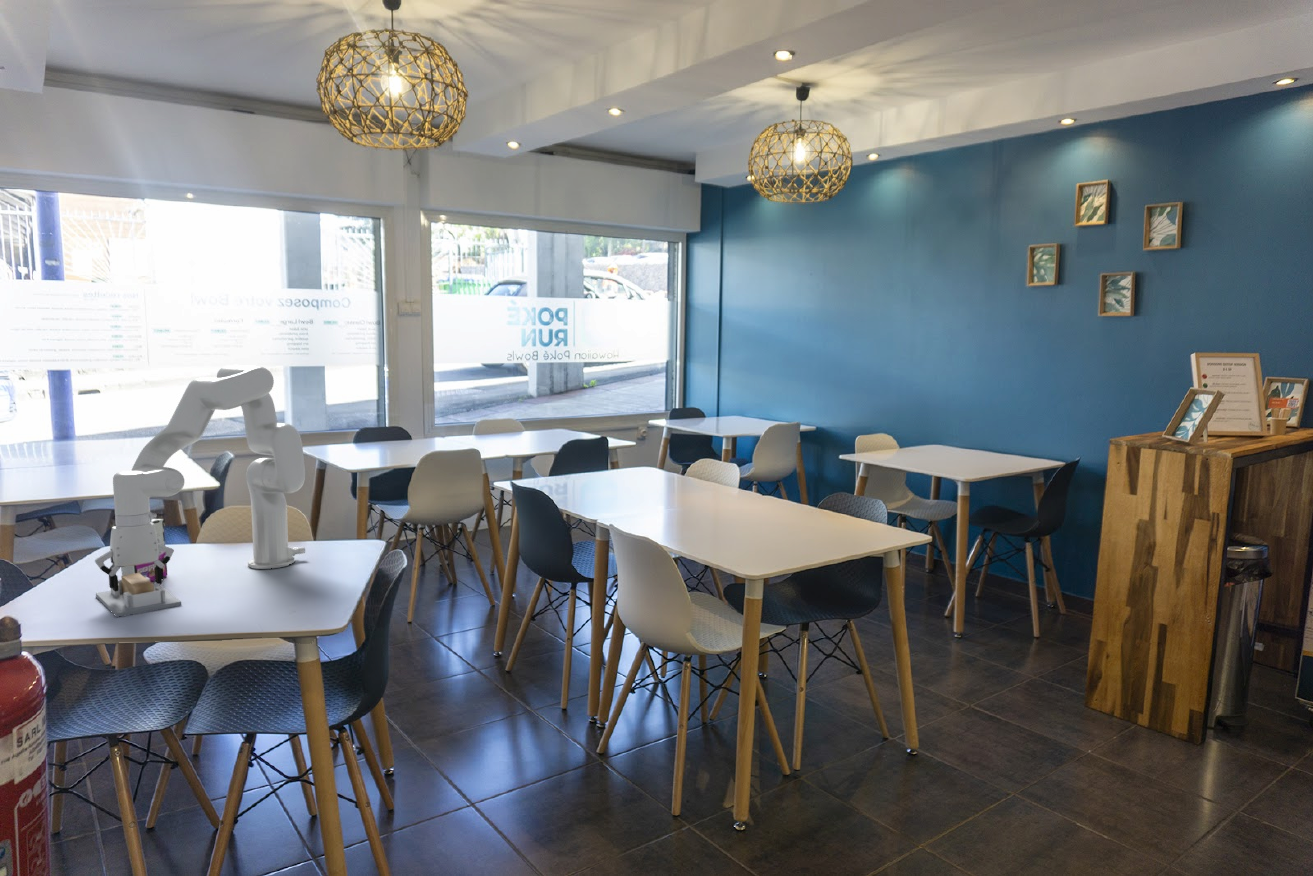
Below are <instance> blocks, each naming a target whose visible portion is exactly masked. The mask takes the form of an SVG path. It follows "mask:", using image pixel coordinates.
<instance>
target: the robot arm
mask: <svg viewBox="0 0 1313 876" xmlns="http://www.w3.org/2000/svg"><path fill="white" fill-rule="evenodd" d="M274 383H275V382H274V376H273V374H272V372H271V371H270V370H269V369H267V368H266V367H263V366H259V365H258V366H257V365H244V364H243V365H242V364H240V365H239V364H233V365H226V366H223V367H221V368H220V369H219V370H218V371H217V373H216V377H199V378H198V377H197V378H195V379H193V380H191V381H190V382H189V384H188V385H187V387H186V389H185V391H184V392H183V394H182V396H181V398H180V401H179V402H178V404H177V406H176V408H175V410H174V412H173V415H172V416H171V418H170V420H169V421H168V423H167V425H166V426H165V427H164V428H163V429H162V430H160V432H158V433H157V434H156V435H155V436H154V437H152V439H150V440H149V442H147V444H145V446H144V447H143V448H142V449H141V451H140V452H139V454H138V456H137V458H136V460H135V461H134V464H133V466H132V467H131V470H123V471H119V472H116V473H115V474H114V475H113V477H112V488H113V489H112V490H113V504H114V516H115V517H114V519H115V525H114V526H112V527H111V531H110V539H109V540H110V542H109V551H107V552H105V553H104V554H103V555H101V556H99V557H97V558H96V559H95V560H94V563H95V564H96V565H97V567H98V568H99V569H100V570H101V572H103V573H105V574H106V575H108V582H109V583H108V584H109V588H110V589H111V588H112V589H113V590H114V591H115V592H116V591H118V580H119V579H118V575H117V573H118V571H119V570H121V567H128V566H134V565H141V564H147V563H152V562H153V563H155V564H156V567H155V568H154V569H155V580H154V583H158V584H159V585H161V584H162V581H163V580H164V578H165V577H163V568H164V567H165V565H166V564H167V565H168V563H169V562H170V561H171V557H172V556H173V554H174V552H175V549H174V548H172V547H169V546H166V545H165V546H163V545H159V544H158V540H157V535H156V530H155V527H154V524H153V523H152V522H151V520H152V519H158V518H157V516H158V515H157V513H156V512H151V508H150V507H151V505H150V499H151V498H167V497H172V496H174V495H177V494H179V493H180V492H181V490H182V489H183V488H184V486H185V478H184V475H183V474H182V472H180V471H179V470H178V469H175V468H171V467H167V466H165V465H166V463H167V461H168V460H169V459H170V458H171V457H172V456H173V455H174V454H176V453H177V452H179V451H180V450H182V449H184V448H186V447H188V446H192V445H193V444H194V443H196V442H198V441H200V440H201V439H202V438H203V435H204V434H205V431H206V429H207V427H208V425H209V423H210V422H211V419H212V417H213V415H214V413H215V411H216V410H221V411H227V410H231V409H235V408H238V407H240V408H241V410H242V415H243V421H244V428H245V437H246V442H247V447H248V448H249V450H250V451H251V452H252V453H255V454H259V455H264V456H265V455H268V456H273V457H272V458H271V457H262V458H261V457H260V458H257V459H255V460H252V461H251V462H250V464H248V466H247V468H246V471H245V479H246V484H247V488H248V491H249V497H250V506H251V507H250V510H251V511H250V512H251V527H252V531H251V532H252V551H253V558H251V559H250V560H248V561H247V566H248V567H249V568H251V569H257V570H272V569H278V568H283V567H287V566H290V565H289V564H291V565H293V564H292V563H295V560H296V559H295V557H294V556H296V555H302V554H306V548H305V546H300V547H298V546H295V547H291V546H289V531H288V530H289V529H288V503H287V501H286V500H287V499H286V496H285V494H293V493H296V492H298V491H299V490H300V489H302V487H303V486H304V483H305V479H306V466H305V457H304V449H303V441H302V437H301V434H300V433H299V430H297V428H296V427H295V426H293V425H292V424H289V423H284V422H278V419H277V412H276V407H275V403H274V400H273V397H272V396H271V394H270V392H271V391H272V390H273V387H274ZM159 550H161V551H164V552H166V554H165V556H164V557H163V558H162V559H161V560H158V559H159ZM109 559H110V563H111V565H110V566H109V567H107V566H106V564H105V561H107V560H109ZM271 568H272V569H271Z"/></svg>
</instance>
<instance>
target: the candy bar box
mask: <svg viewBox="0 0 1313 876" xmlns="http://www.w3.org/2000/svg"><path fill="white" fill-rule="evenodd" d="M151 522H152V523H153V524H154V527H155V530H156V535H157V540H158V544H159V545H163V546H166V539H165V538H166V537H165V527H164V526H165V525H164V518H154V519H152V520H151ZM165 554H166V552H164V551H161V550H159V559H158V560H161V559H162V558H163V557H164V556H165ZM167 565H168V563H167V564H166V565H165V567H164V568H163V577H164V578H165V577H167V576H168V566H167ZM155 567H156V564H155V563H153V562H152V563H147V564H141V565H134V566H128V567H120V570H121V576H123V575H129V574H135V573H140V574H141V575H142V576H147V577H148V578H149V579H150V582H151V583H153V582H155V569H154V568H155Z"/></svg>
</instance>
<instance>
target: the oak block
mask: <svg viewBox="0 0 1313 876" xmlns="http://www.w3.org/2000/svg"><path fill="white" fill-rule="evenodd" d="M120 579H122V593H123V594H124V593H125V592H129V593H130V594H131V595H135V594H141V593H147V592H152V591H154V584H153V582H150V581H149V580H147V579H146V578H145V577H144V576H142V575H141V574H140V573H135V574H129V575H123V576H122V575H121V578H120Z"/></svg>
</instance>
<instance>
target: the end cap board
mask: <svg viewBox="0 0 1313 876" xmlns="http://www.w3.org/2000/svg"><path fill="white" fill-rule="evenodd" d="M144 577H145V578H146V579H147V580H149V581H150V579H149V578H148V577H147V576H144ZM152 583H153V582H152ZM153 584H154V591H152V592H147V593H141V594H135V595H131V594H130V593H129V592H125V593H124V594H123V593H122V578H120V579H118V591H116V592H115V591H114V590H113V589H112V588H110V590H106V591H101V592H96V593H95V597H96V599H97V600H99V601H100V603H102V604H103V606H105V607H106V608H107V609H108V610H109V609H110V610H109V612H111V611H112V612H111V613H112V614H113V615H114V614H115V615H116V616H115V615H114V616H115V617H116V618H120V617H119V616H122V617H126V616H125V615H127V616H131V615H130V614H133V615H138V614H143V613H148V612H153V611H157V610H158V609H159V610H164V609H170V608H175V607H179V606H182V600H180V599H179V598H177V597H176V596H175V595H173V594H172V593H171V592H170V591H168V590H167V589H166V588H165V587H163V586H161V584H158V583H156V582H154V583H153Z"/></svg>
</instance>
